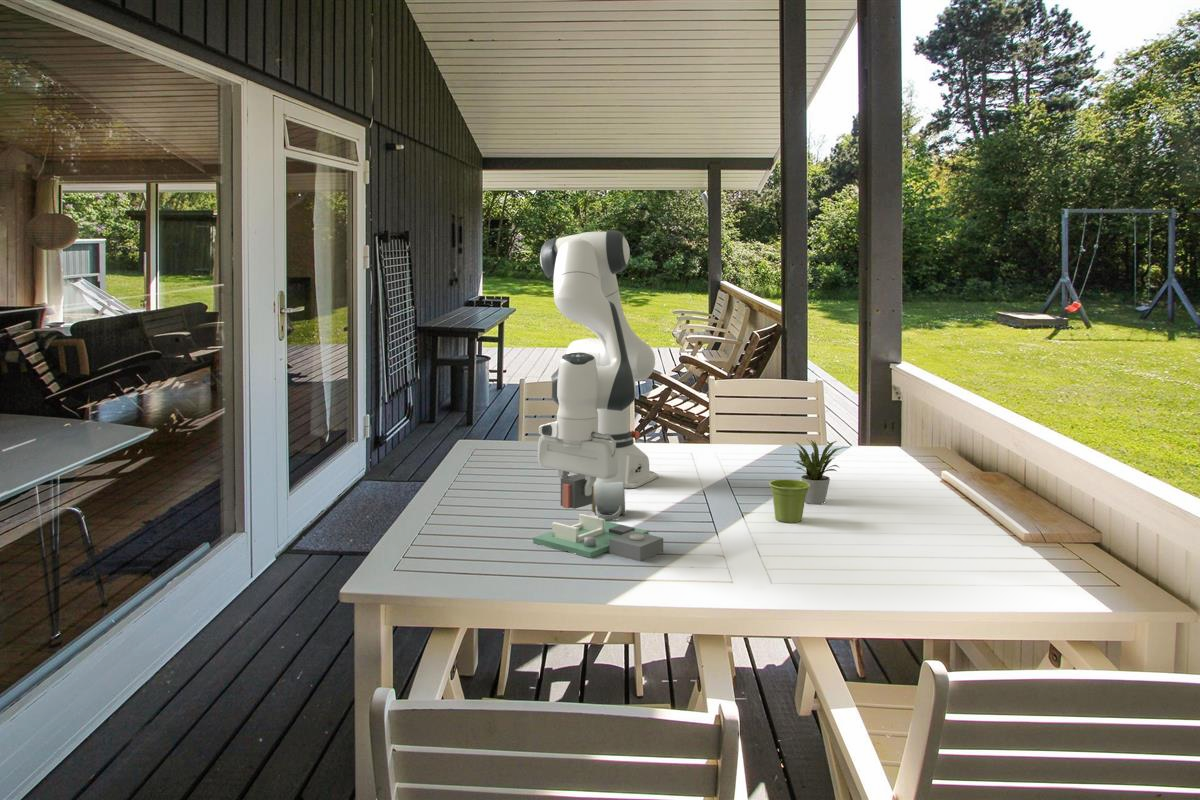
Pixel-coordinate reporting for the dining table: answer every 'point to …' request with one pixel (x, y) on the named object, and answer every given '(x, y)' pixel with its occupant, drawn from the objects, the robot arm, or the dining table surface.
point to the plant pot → (789, 499)
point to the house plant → (816, 472)
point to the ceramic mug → (608, 500)
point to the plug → (574, 492)
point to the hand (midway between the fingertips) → (577, 492)
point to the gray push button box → (636, 545)
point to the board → (584, 535)
